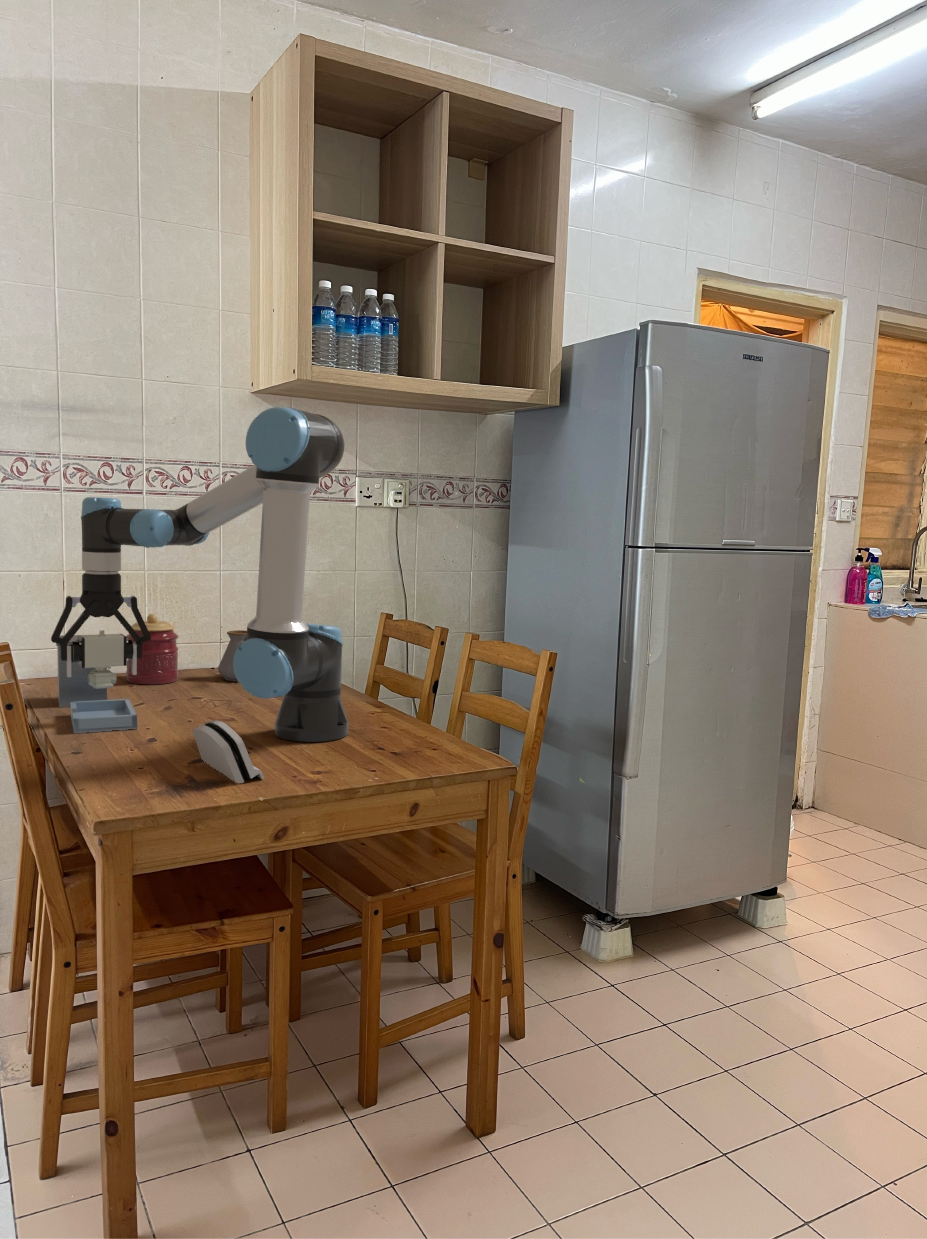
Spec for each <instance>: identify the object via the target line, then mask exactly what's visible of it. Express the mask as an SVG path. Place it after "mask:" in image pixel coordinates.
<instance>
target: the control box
mask: <svg viewBox="0 0 927 1239" xmlns="http://www.w3.org/2000/svg"><path fill="white" fill-rule="evenodd" d="M64 635H65V634H64ZM64 635H61V634H60V636H59V637H61V638H63V636H64ZM77 635H78V634H75V635H74V636H73V637H72V638H71V640H70V641H69V642H68V643H67V644H71V642H72V641H76V640H77ZM55 646H56V649H57V650H56V652H57V653H56V654H57V699H58V707H59V708H68V707H69V708H70V702H78V701H97V700H108V688H100V689H95V688H93V686H91V685H89V684H88V675H89V674H90V672H91V671H93V670H96V668H93V667H92V668H81V667H80V666H79V665H77V662H72V661H71V677H67V661H62V659H61V646H60V644H58V643H55ZM105 670H108V668H105Z"/></svg>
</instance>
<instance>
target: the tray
mask: <svg viewBox="0 0 927 1239" xmlns="http://www.w3.org/2000/svg"><path fill="white" fill-rule="evenodd" d="M69 708H70V709H69V710H70V712H69V713H70V721H71V726H72V730H73V734H85V733H87V732H89V733H101V732H102V731H105V732H113V731H112V730H120V731H129V730H128V729H135V730H138V714H137V713H136V710H135V708H134V706H133V705H132V702H131V700H130V699H129V698H121V699H120V698H119V699H107V700H97V701H78V702H70V707H69ZM126 729H127V730H126Z"/></svg>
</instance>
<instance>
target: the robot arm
mask: <svg viewBox="0 0 927 1239" xmlns="http://www.w3.org/2000/svg"><path fill="white" fill-rule="evenodd" d="M344 439H345V438H344V436H343V433H342V430H341V429H340V427H339V426H338V425H337V424H336V423H335V422H334V421H333V420H332V419H331V418H329V417H327V416H325V415H322V414H317V413H314V412H313V413H311V412H308V411H305V410H301V409H297V408H292V407H289V406H288V407H283V406H282V407H280V406H279V407H278V406H277V407H276V406H275V407H270V408H267V409H265V410H263V411H261V412H260V413H258V415H257V416H256V417H254V419H253V420H252V421H251V423H250V425H249V426H248V429H247V432H246V436H245V449H246V454H247V456H248V458H250V460H251V463H252V464H253V465H252V466H250V467H249V468H247V469H245V470H243V471H242V472H240V473H238V474H236V475H234V476H232V477H231V478H229V479H228V480H227V479H226V481H224V482H222V483H220V484H219V485H217V486H215V487H213V488H212V489H209V490H208V491H206V492H205V493H203V494H201V495H200V496H198V497H196V498H194V499H193V500H191V501H189V502H188V503H186V504H183V505H182V506H180V507H178V508H175V509H156V508H151V509H150V508H123V507H122V502H121V499H120V498H117V497H115V498H112V497H95V496H94V497H93V496H91V497H90V496H89V497H88V496H87V497H85V498H84V499H83V500H82V503H81V516H80V520H81V570H82V571H84V572H83V574H82V575H81V591H82V592H81V595H80V596H79V597H77V596H72V595H67V596H66V597H65V605H64V609H63V610H62V613H61V615H60V618H58V621H57V624H56V625H55V628H54V629H53V633H52V635H51V638H50V640H51V643H55V644H56V643H58V644H60V646H61V659H62V661H67V677H71V645H70V644H67V643H68V642H69V641H70V640H71V638H72V637H73V636H74V635H76V633H78V631H79V630H80V629H81V627H82V626H83V625H84V623H85V622H87V621H88V619H89V618H90V617H93V618H101V617H104V618H111V617H112V616H114V617H115V618H116V619H117V620H118V621H119V623H120V624H121V625H122V626H123V628H124V630H126V631H127V632H128V634H130V635H131V636H132V637H133V639H134V640H135V643H133V658H132V674H133V675H137V658H141V657H142V644H143V642H145V641H149V640H151V636H150V634H149V631H148V629H147V627H146V625H145V623H144V621H145V620H144V618H143V616H142V613H141V612H140V609H139V608H138V598H137V597H136V595H131V596H123V595H122V575H121V573H119V572H120V571H122V546H132V547H133V546H134V547H144V548H147V549H149V548H154V549H155V548H162V547H164V546H185V547H188V546H194V545H199V544H202V543H204V542H205V541H206V540H207V538H208V536H209V535H210V533H211V532H212V531H215V530H216V529H218V528H220V527H222V526H224V525H226V524H227V523H230V522H231V521H233V520H234V519H236V518H239V517H240V516H242V515H244V514H245V513H247V512H249V511H251V510H253V509H255V508H257V507H258V506H260V505H261V504H262V509H261V522H260V523H261V526H260V539H259V540H260V542H259V543H260V546H259V559H258V560H259V561H258V562H259V563H258V575H257V576H258V578H257V594H256V610H255V612H256V613H255V616H254V618H252V619H251V620H250V621H249V622H248V623H247V625H246V631H247V637H246V641H244V642H243V643H242V644H241V645H240V647H238V648H237V650H236V652H235V654H234V659H233V667H234V672H235V675H236V678H237V680H238V681H237V682H238V683H239V684H240V685H241V686H242V687H243V689H244V690H245V691H246V693H248V694H250V695H251V696H254V697H256V698H257V699H272V698H275V699H276V698H281V697H283V698H282V701H281V704H280V707H279V710H278V713H277V716H276V718H275V721H274V735H275V736H276V737H278V738H279V739H283V740H286V741H291V742H292V741H293V742H300V743H301V742H302V743H317V742H318V743H319V742H321V743H322V742H329V741H335V740H339V739H342V738H345V737H347V736H348V735H349V720H348V717H347V714H346V711H345V707H344V705H343V701H342V696H341V695H342V693H341V692H342V691H341V688H342V661H343V660H342V658H343V657H342V654H343V653H342V652H343V645H344V644H343V641H342V640H343V638H342V630H341V629H340V628H339V627H337V626H335V625H328V624H327V625H326V624H315V623H306V622H305V621H304V620H303V617H302V616H303V607H304V606H303V603H304V590H305V589H304V588H305V573H306V572H305V571H306V559H307V557H306V556H307V546H308V530H309V528H308V527H309V514H310V500H311V499H310V498H311V494H312V492H313V491H314V490H315V489H316V488H318V487H319V485H320V478H321V479H322V477H324V476H326V475H328V474H329V473H331V472H332V471H334V470H335V469H336V468H337V467H338V466H339V464H340V463H341V461H342V459H343V455H344V453H345V440H344ZM79 603H80V605H81V606H82V607H83V608H84V610H83V611H82V613H81V614H80V615H79V616H78V618H76V620H75V621H74V623H73V624H71V626H70V628H69V629H68V630H67V631H66V633H64V636H63V638H61V637H59V636H61V634H62V632H63V629H64V627H65V626H66V623H67V620H68V619H69V616H70V615H71V612H72V610H73V608H75V607H77V604H79ZM124 603H125V604H126V606H127V607H128V608H130V609H131V612H132V614H133V616H134V618H135V621H136V622H137V623H138V625H139V627H140V629H141V631H142V634H143V635H142V636H139V635H138V634H137V633H136V632H135V630H134V629H133V628H132V627H131V626H132V625H131V624H130V622H128V620H127V619H126V618H125V617H124V615H122V613H121V611H119V609H120V608H121V606H122V605H123V604H124Z"/></svg>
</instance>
